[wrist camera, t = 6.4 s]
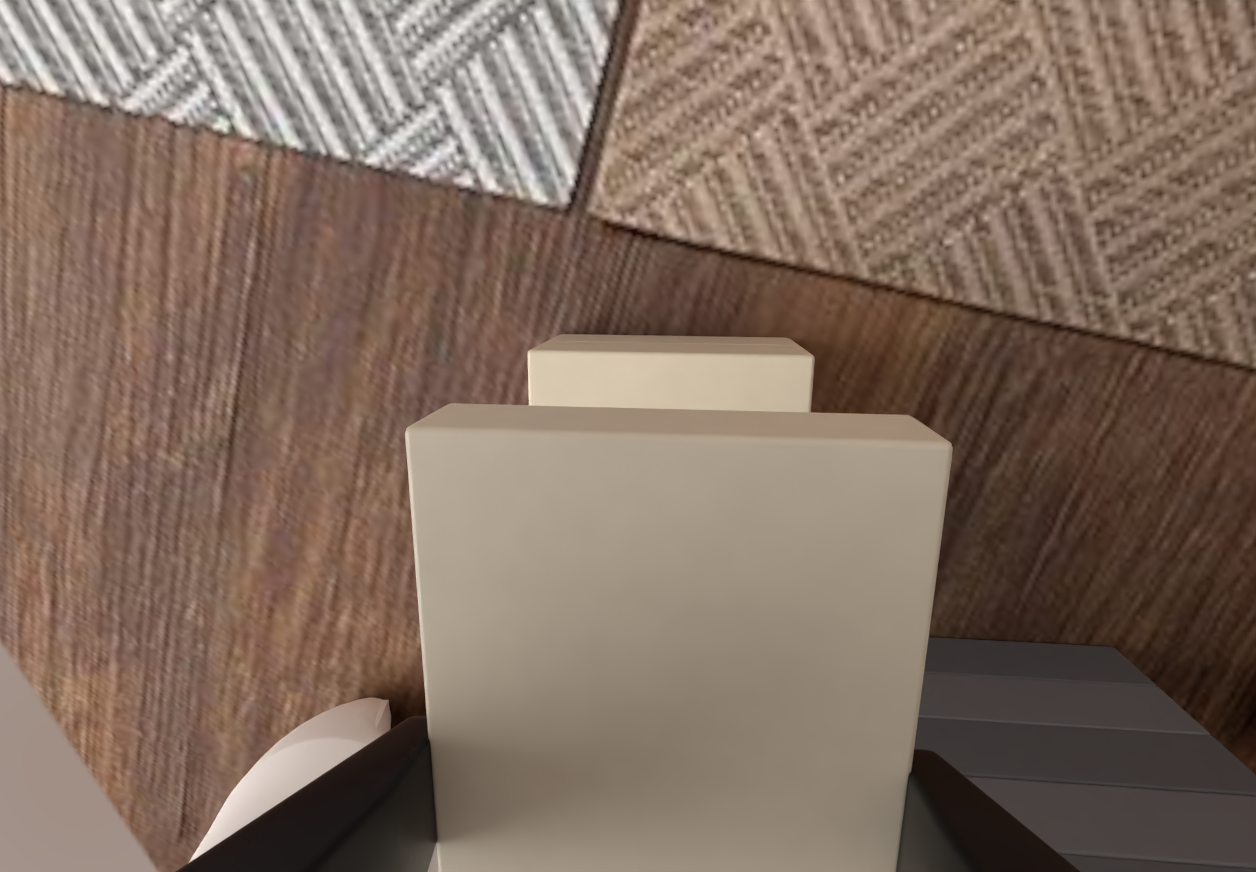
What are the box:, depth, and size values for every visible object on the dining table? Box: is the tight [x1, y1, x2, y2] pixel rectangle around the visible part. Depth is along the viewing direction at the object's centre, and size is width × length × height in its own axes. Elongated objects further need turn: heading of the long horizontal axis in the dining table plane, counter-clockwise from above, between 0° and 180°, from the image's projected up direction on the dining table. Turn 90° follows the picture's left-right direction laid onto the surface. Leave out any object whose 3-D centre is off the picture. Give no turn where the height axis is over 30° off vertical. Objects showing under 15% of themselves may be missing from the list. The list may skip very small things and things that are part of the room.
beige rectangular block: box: [528, 334, 815, 413], centre depth 17 cm, size 6×8×4 cm
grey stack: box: [914, 637, 1256, 872], centre depth 15 cm, size 8×6×9 cm, turn 90°
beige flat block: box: [405, 403, 953, 872], centre depth 8 cm, size 8×5×1 cm, turn 0°
